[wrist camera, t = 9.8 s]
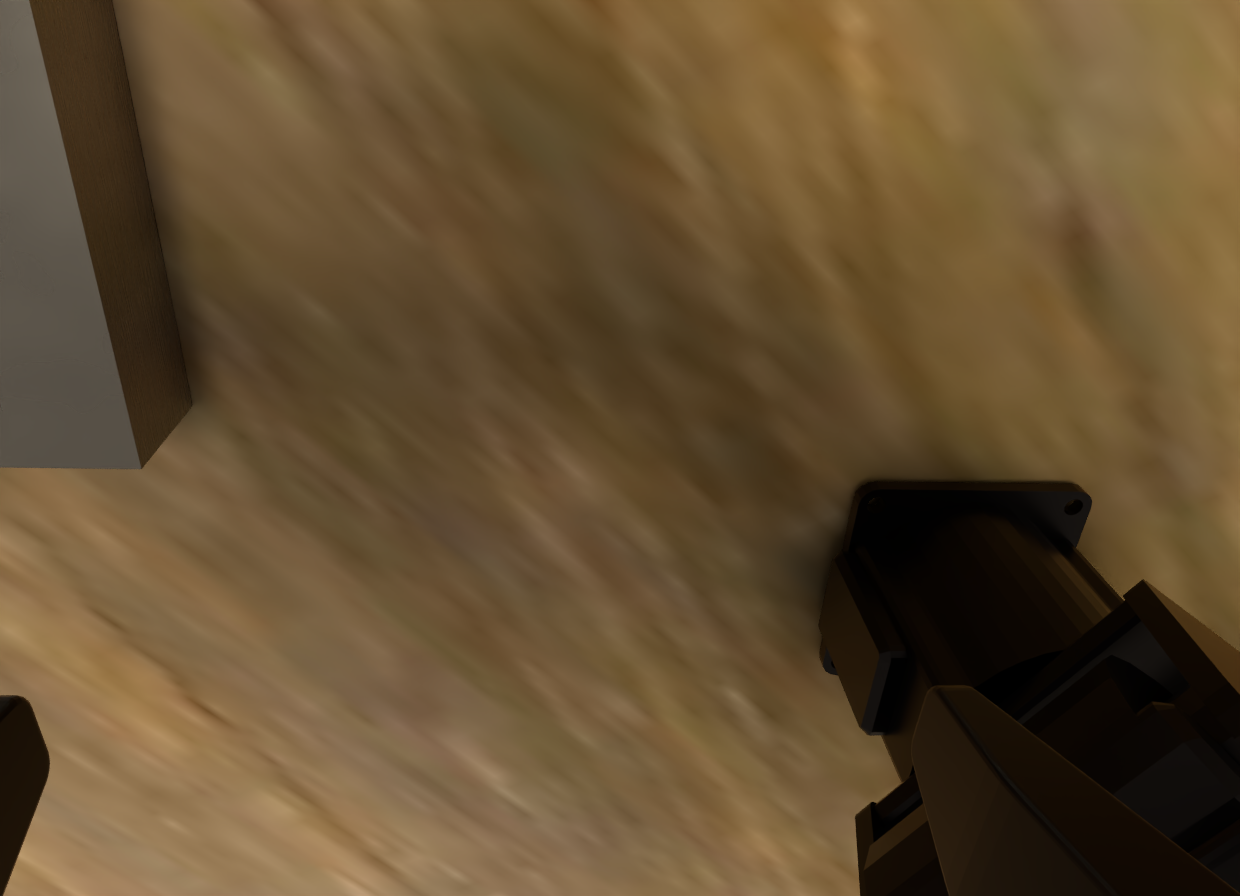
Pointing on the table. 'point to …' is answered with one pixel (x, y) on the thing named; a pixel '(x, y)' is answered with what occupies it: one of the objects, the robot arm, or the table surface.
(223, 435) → the table surface
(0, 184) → the block
